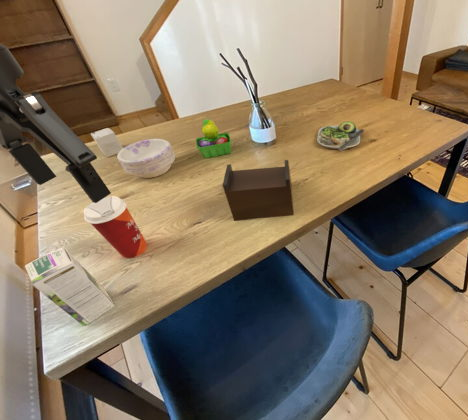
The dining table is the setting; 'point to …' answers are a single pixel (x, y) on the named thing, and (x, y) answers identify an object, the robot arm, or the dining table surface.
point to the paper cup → (116, 225)
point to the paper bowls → (147, 158)
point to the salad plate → (339, 136)
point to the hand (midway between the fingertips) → (73, 188)
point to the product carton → (107, 142)
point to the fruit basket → (213, 141)
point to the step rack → (259, 192)
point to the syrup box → (69, 286)
